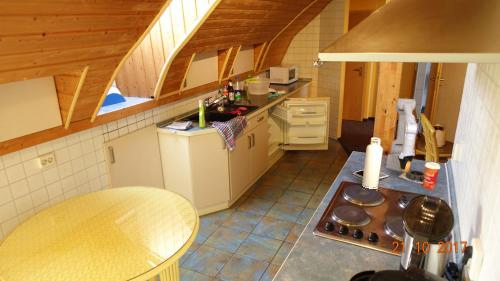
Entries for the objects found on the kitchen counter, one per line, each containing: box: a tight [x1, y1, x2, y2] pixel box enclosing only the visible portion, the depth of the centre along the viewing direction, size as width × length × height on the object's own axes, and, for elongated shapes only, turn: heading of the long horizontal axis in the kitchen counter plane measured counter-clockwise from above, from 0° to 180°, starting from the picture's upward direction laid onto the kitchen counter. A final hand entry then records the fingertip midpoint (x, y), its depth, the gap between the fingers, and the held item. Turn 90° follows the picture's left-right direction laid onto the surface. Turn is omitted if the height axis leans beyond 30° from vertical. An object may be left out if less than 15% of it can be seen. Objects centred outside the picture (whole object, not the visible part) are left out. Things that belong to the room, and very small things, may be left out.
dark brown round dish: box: [406, 169, 424, 183], centre depth 204 cm, size 11×11×3 cm
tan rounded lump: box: [399, 161, 412, 173], centre depth 197 cm, size 5×5×6 cm
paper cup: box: [422, 161, 441, 190], centre depth 191 cm, size 8×8×14 cm
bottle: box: [361, 137, 384, 190], centre depth 187 cm, size 8×8×28 cm
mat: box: [397, 172, 423, 185], centre depth 206 cm, size 14×12×1 cm
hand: (404, 167), depth 197 cm, fingers closed on tan rounded lump, 5 cm apart
